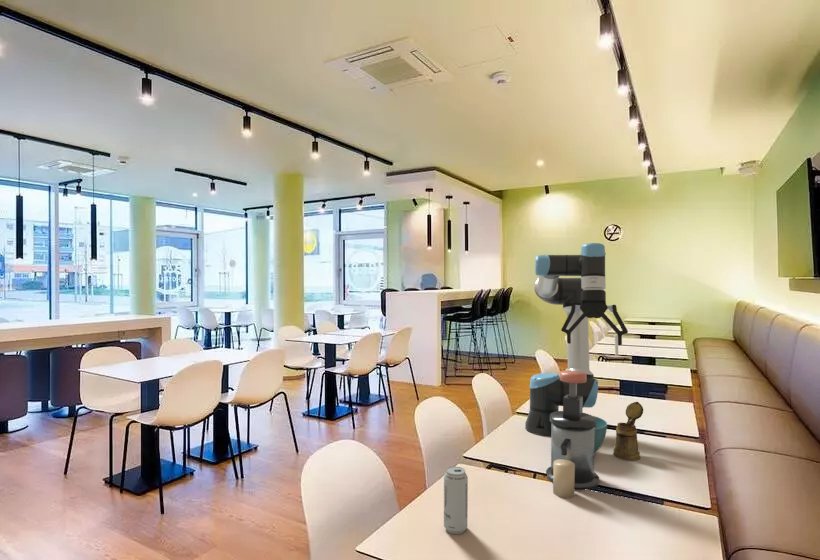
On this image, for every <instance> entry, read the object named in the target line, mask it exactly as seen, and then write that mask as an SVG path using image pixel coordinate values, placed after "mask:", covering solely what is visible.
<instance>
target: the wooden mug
mask: <svg viewBox="0 0 820 560" xmlns="http://www.w3.org/2000/svg"><path fill="white" fill-rule="evenodd" d="M643 414H644V408H643V405H642V404H641V403H640V402H638V401H633V402H631V403H630V404H628V405H627V406H626V409H625V415H626V417H627V421H626V422H618V423H617V425H616V429H615V433H616V434H615V442H614V447H613V451H612V452H613V453H612V455H613V456H614V457H615V458H618V459H621V460H625V461H638V460H639V461H640V459H641V453H640V451H639V444H638V443H639V441H638V431H637V430H638V429H637V426H636V425H635V423H636V420H639V419H640V418H641V417H642V416H643Z"/></svg>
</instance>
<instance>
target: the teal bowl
mask: <svg viewBox="0 0 820 560" xmlns="http://www.w3.org/2000/svg"><path fill="white" fill-rule="evenodd" d="M593 416H594V417H595V418H596V426H595V437H594V455H595V454H596V453H597V452H598V451H599V449H600V448H601V447H602V445H603V443H604V440H605V438H606V435H607V430H608V422H607V421H606V420H605V419H603V418H600V417H598V416H596V415H593Z"/></svg>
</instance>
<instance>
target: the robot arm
mask: <svg viewBox="0 0 820 560" xmlns="http://www.w3.org/2000/svg"><path fill="white" fill-rule="evenodd" d="M605 247H606V246H605V244H603V243H600V242H590V243H584V244H582V246H581V247H580V248H581V249H580V254H539V255H536V256H535V257H534V259H535V260H534V273H535V275H536V276H538V278H537V280H536V281H535V283H534V291H535V292H534V293H535V294H536V296H537V297H538V298H539V299H540V300H542V301H543V302H545V303H548V304H551V305H559V306H560V305H561V306H562V310H564V312H565V313H566V319H565V322H564V323H563V325H562V327H561V329H560V330H561V332H563V333H565V334H566V342H567V343H566V346H567V347H566V350H567V352H566V353H567V369H566V370H573V371H581V372H585V373H586V374H587V382H585V383H577V396H583V409H584V408H587V409H589V408H593V407H594V406H595V405H596V403H597V399H598V395H599V394H598V393H599V381H598V379H597V378H594V377H595V376H594V373H593V372H592V371H591V370H590V339H589V337H590V335H589V332H590V331H589V319H593V318H594V319H600V318H602V319H603V320H604V321H605V322H606V324H608V325H609V327H610V328H611V329H612V330H613V331H614V332H615V333H616V334H617V335H614V355H615V357H619V346H622V344H623V335H625V334H628V333H629V331H628V329H627V327H626V325H625V323H624V321H623V320H622V318H621V315H620V314H619V313H618V309H617V305H616V304H612V305H607V301H606V300H607V298H606V297H607V294H606V284H607V283H606V248H605ZM607 310H609V312H611V313H612V314H613V316H614V318H615V319H616V322H617V323H618V325H619V327H620V329H621V330H620V329H619V328H618V327H617V326H616V324H615V323H614V322H613V321H612V320H611V319H610V318H609V317H608V315H606V314H605V313H606V312H607ZM528 387H529V411H528V415H527V418H526V421H525V427H524V428H525V430H526V431H527V432H529V433H532V434H534V435H539V436H551V422H550V414H551V413H553V412H556V411H560V410H559V407H563V397H564V396H565V395H566V394H568V395H569V383H567V382H563V381H561V380H560V374H558V373H556V372H541V373H540V372H539V373H536V374H534V375H532V376H531V377H530V381H529V386H528Z"/></svg>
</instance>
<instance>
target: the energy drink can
mask: <svg viewBox="0 0 820 560" xmlns="http://www.w3.org/2000/svg"><path fill="white" fill-rule="evenodd" d="M468 481H469V478H468V475H467V473H466V470H465V468H463V467H460V466H449V467H447V468H446V472H445V474H444V475H443V527H444V528H445V530H446V532H448V533H450V534H453V535H460V534H461V535H462V534H463V533H465V532H466V529H467V528H468V511H469V510H468V509H469V508H468V507H469V506H468V497H469V496H468V490H469V487H468V486H469V485H468V484H469V482H468Z"/></svg>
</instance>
